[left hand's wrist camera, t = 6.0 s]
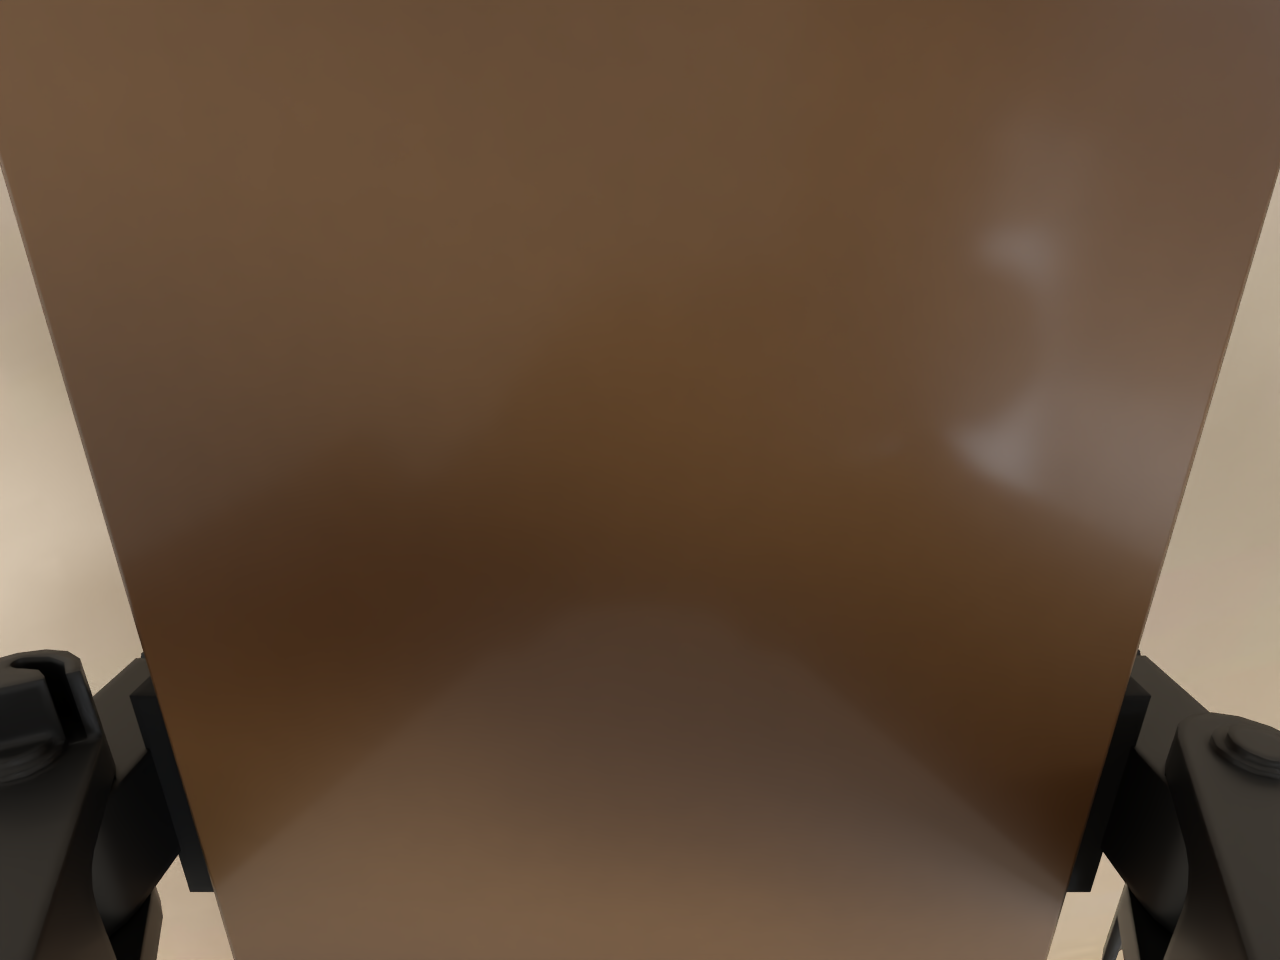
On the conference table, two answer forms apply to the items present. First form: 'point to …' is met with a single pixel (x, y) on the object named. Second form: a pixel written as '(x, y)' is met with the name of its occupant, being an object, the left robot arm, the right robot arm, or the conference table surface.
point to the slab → (640, 441)
